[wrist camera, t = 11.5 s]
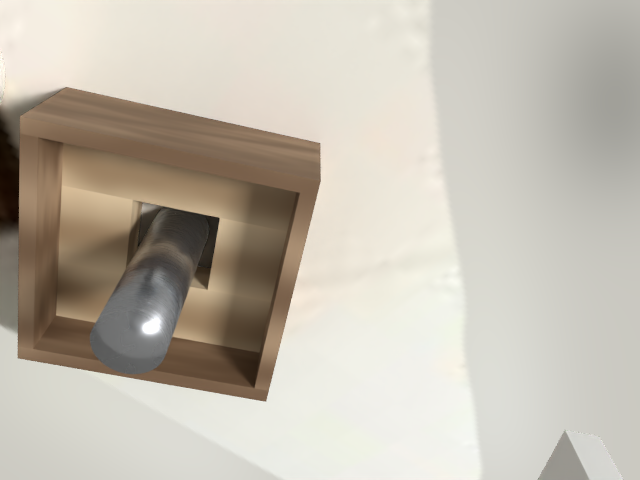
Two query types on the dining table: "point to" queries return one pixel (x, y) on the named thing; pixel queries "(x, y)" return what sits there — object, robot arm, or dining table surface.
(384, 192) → the dining table surface
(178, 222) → the peg
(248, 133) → the box
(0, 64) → the lidded jar
